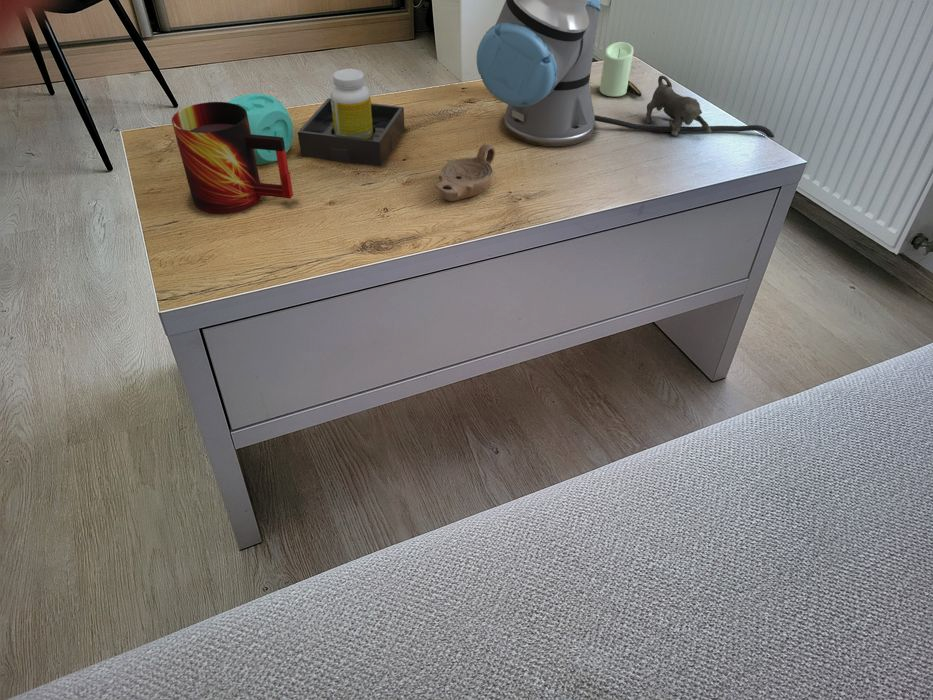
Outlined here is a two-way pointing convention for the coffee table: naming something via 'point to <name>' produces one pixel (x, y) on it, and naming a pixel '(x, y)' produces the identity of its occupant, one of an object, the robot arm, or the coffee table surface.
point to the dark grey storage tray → (356, 147)
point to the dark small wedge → (633, 89)
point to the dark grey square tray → (378, 128)
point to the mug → (225, 158)
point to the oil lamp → (466, 175)
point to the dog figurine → (675, 107)
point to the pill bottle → (351, 105)
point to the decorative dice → (266, 122)
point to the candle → (616, 69)
